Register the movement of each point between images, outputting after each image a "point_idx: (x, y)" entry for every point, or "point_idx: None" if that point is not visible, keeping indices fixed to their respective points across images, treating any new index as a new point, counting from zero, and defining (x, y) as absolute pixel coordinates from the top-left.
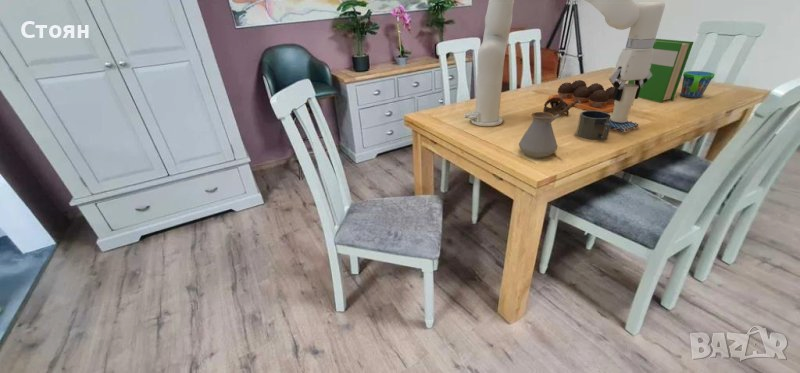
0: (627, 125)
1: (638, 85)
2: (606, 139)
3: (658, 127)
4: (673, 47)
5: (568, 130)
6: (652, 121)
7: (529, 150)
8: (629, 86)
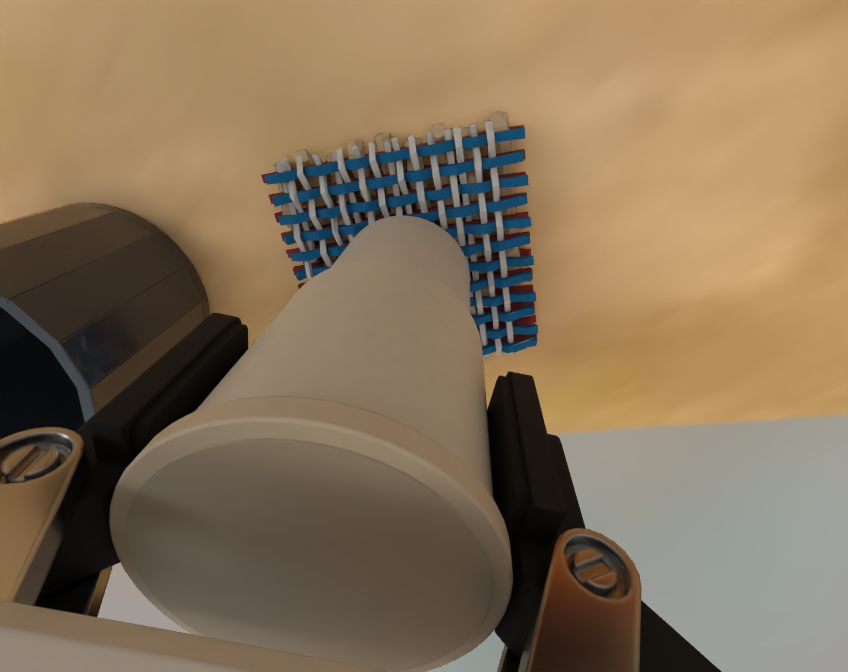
0: None
1: (504, 637)
2: None
3: (667, 380)
4: None
5: (15, 113)
6: (793, 281)
7: None
8: (267, 618)
